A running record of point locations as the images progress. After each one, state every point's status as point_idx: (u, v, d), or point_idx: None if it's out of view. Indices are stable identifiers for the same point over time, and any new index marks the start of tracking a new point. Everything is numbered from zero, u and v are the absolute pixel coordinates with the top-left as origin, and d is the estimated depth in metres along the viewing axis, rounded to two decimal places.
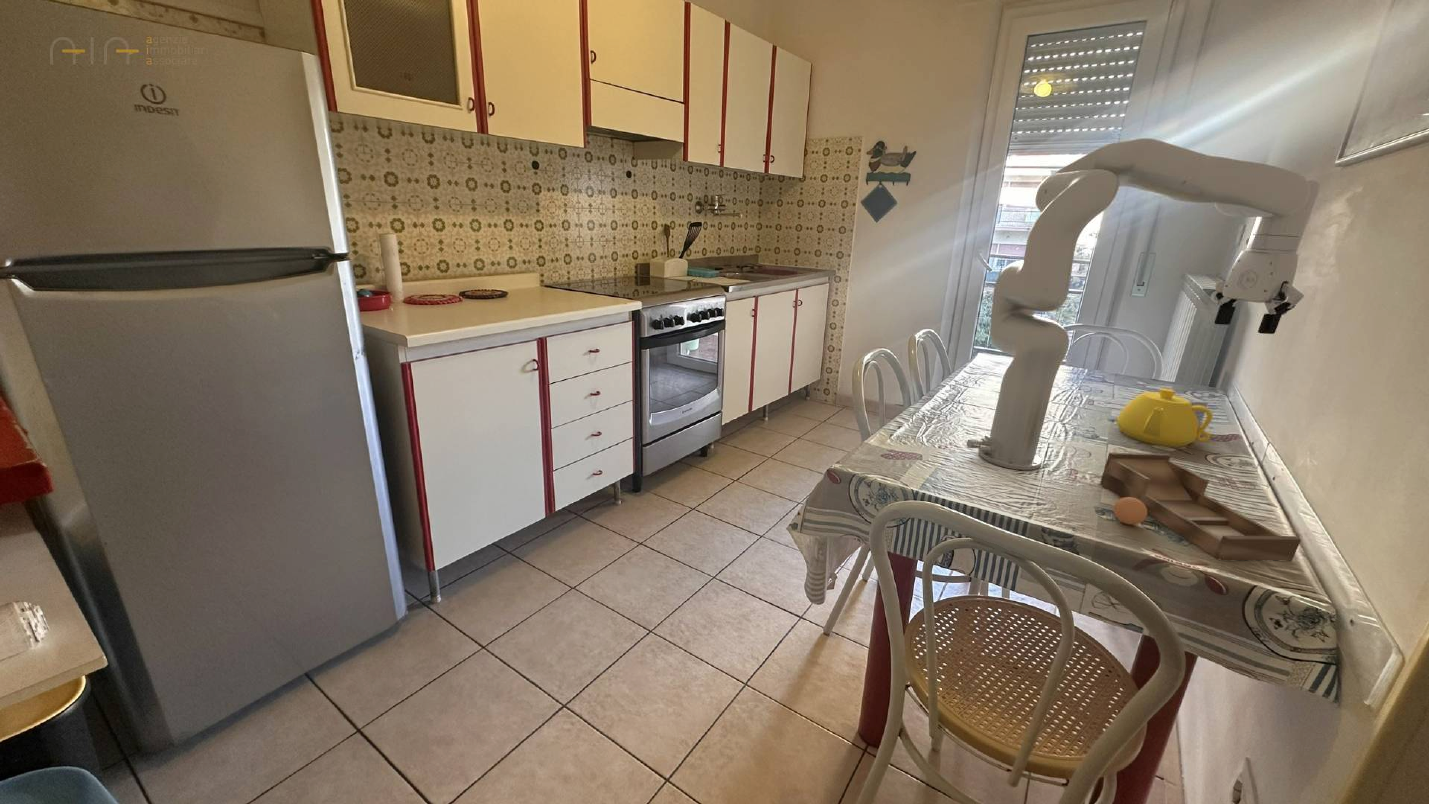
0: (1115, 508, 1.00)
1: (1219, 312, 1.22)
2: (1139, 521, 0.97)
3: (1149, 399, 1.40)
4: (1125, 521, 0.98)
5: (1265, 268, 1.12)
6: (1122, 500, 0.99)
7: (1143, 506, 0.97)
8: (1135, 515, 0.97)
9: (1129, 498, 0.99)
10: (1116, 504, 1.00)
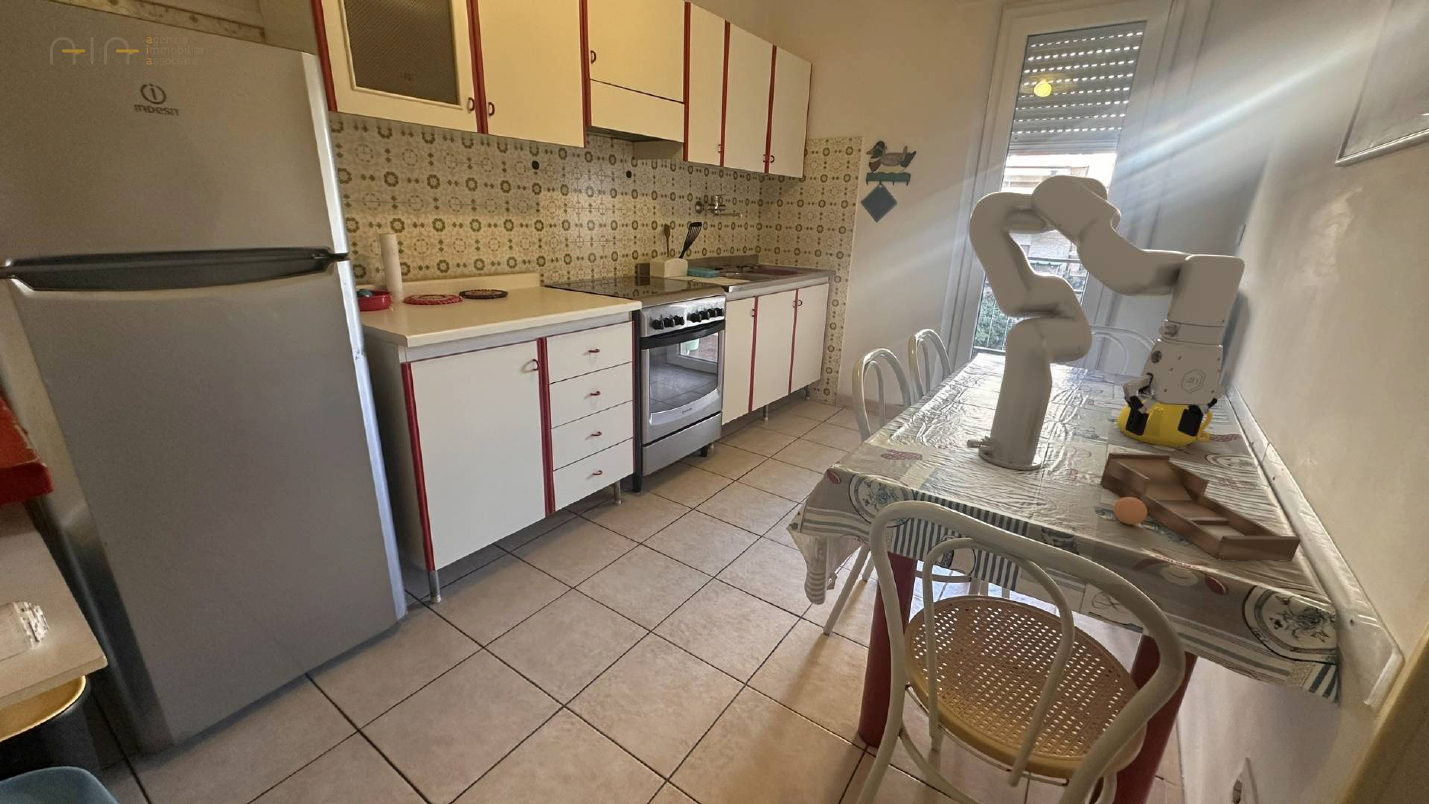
0: (1115, 508, 1.00)
1: (1145, 421, 0.93)
2: (1139, 521, 0.97)
3: None
4: (1125, 521, 0.98)
5: (1212, 365, 0.89)
6: (1122, 500, 0.99)
7: (1143, 506, 0.97)
8: (1135, 515, 0.97)
9: (1129, 498, 0.99)
10: (1116, 504, 1.00)
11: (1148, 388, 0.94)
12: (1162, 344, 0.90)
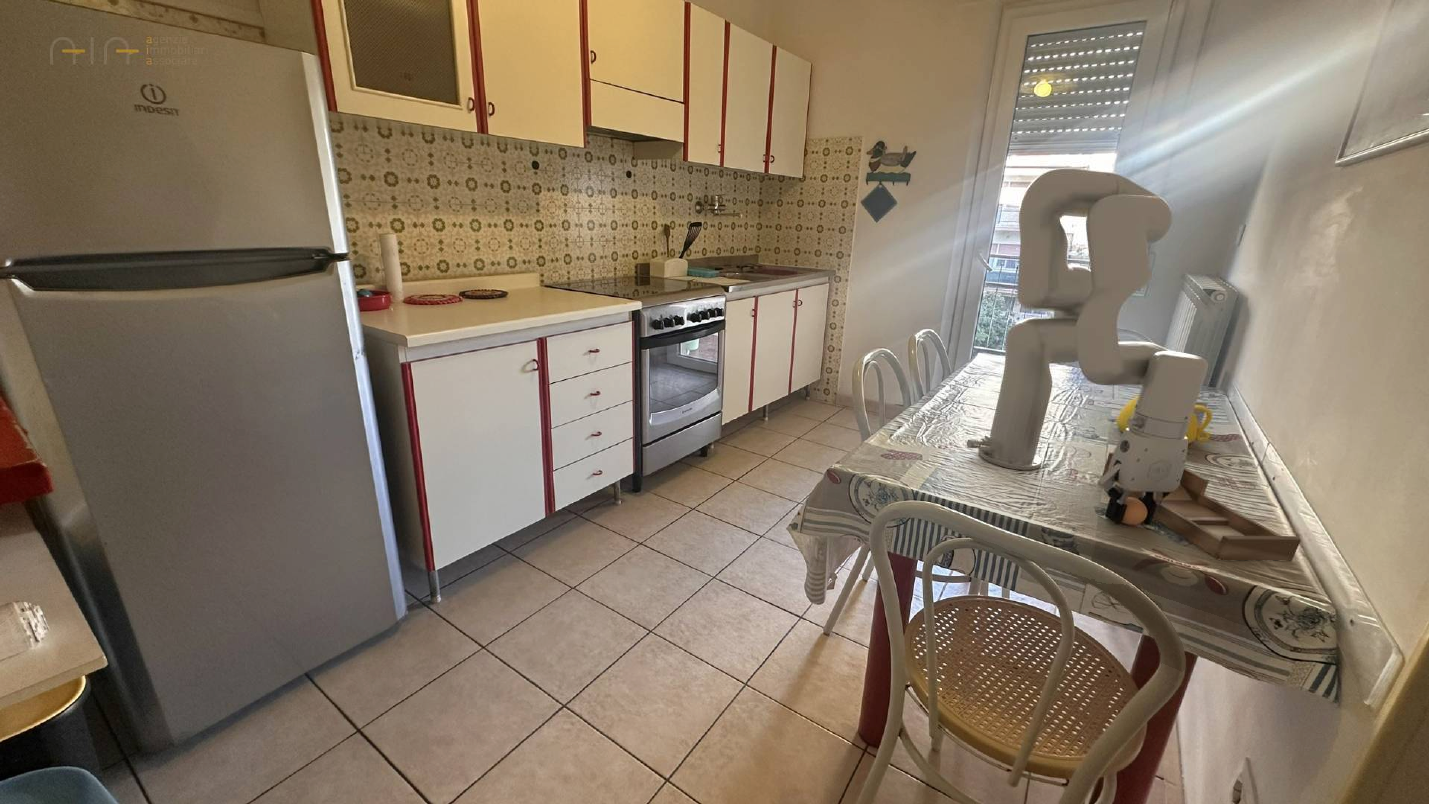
0: None
1: (1123, 512, 0.97)
2: (1139, 521, 0.97)
3: None
4: (1125, 521, 0.98)
5: (1177, 456, 0.93)
6: None
7: (1143, 506, 0.97)
8: (1135, 515, 0.97)
9: (1129, 498, 0.99)
10: None
11: None
12: (1130, 435, 0.94)
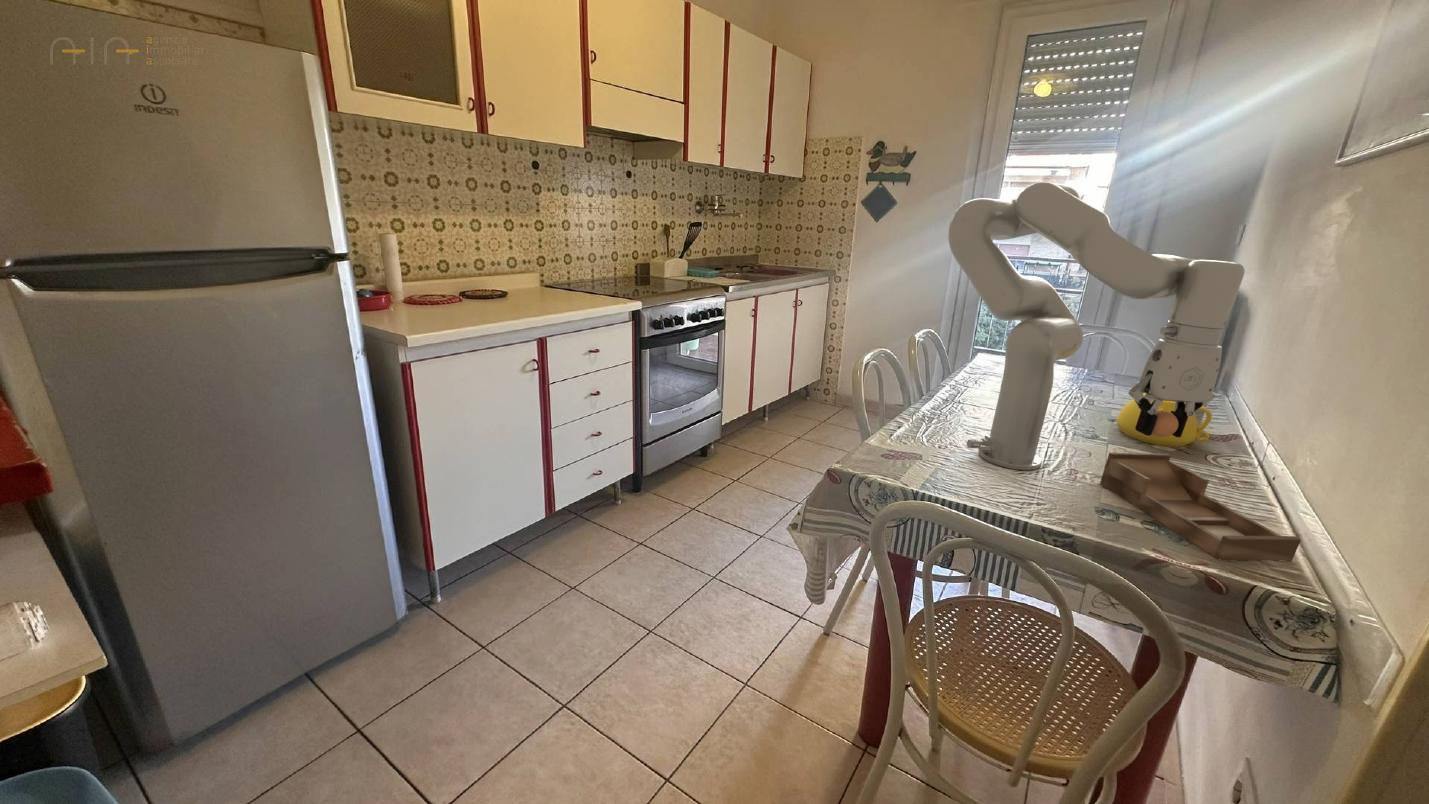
0: None
1: (1154, 422, 0.99)
2: (1170, 432, 0.99)
3: None
4: (1155, 433, 1.00)
5: (1210, 365, 0.94)
6: None
7: (1174, 418, 0.99)
8: (1165, 426, 0.98)
9: (1160, 411, 1.00)
10: None
11: None
12: (1163, 343, 0.96)
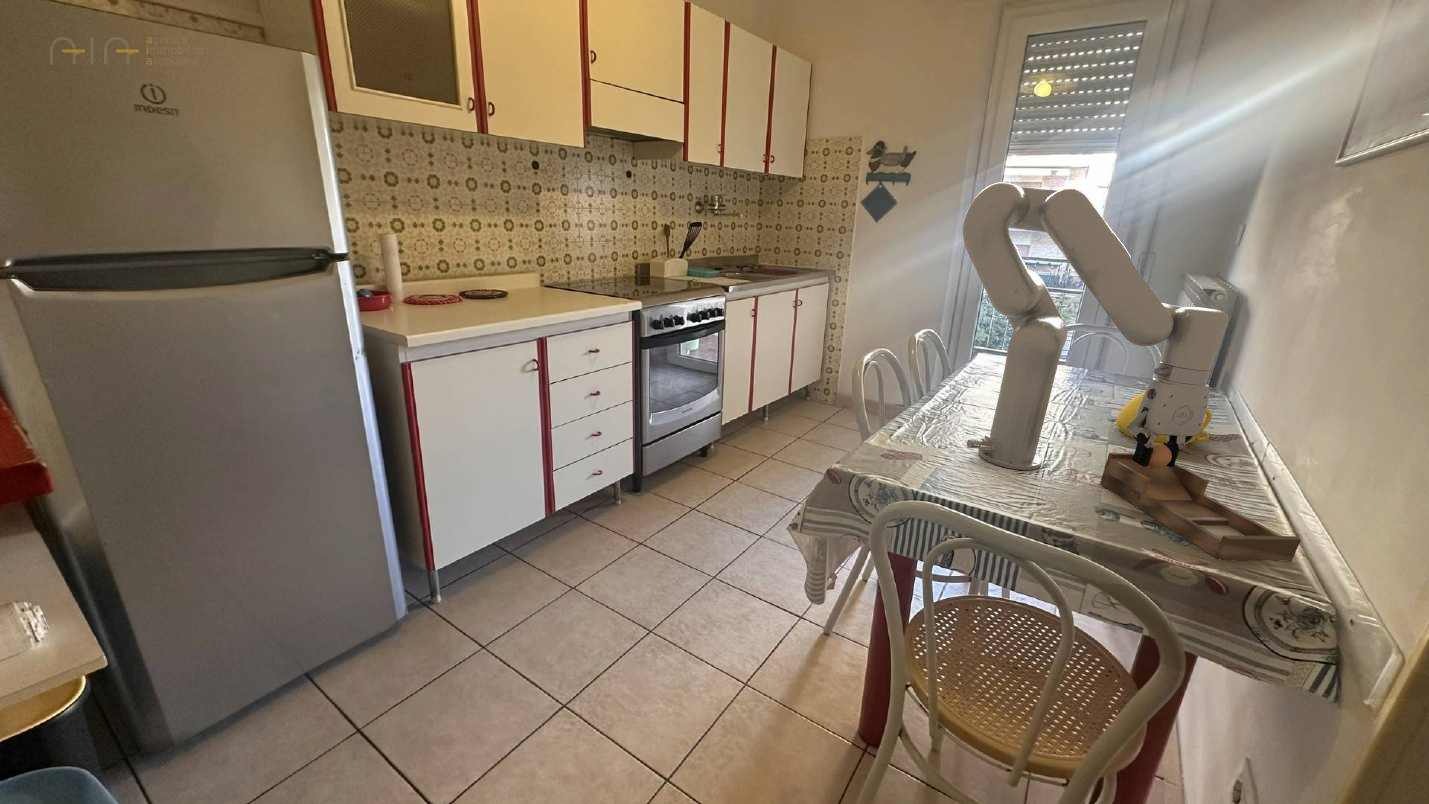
0: None
1: (1150, 455, 1.07)
2: (1164, 463, 1.07)
3: None
4: (1151, 464, 1.08)
5: (1200, 402, 1.03)
6: None
7: (1168, 450, 1.07)
8: (1161, 458, 1.07)
9: (1155, 443, 1.09)
10: None
11: None
12: (1157, 383, 1.04)
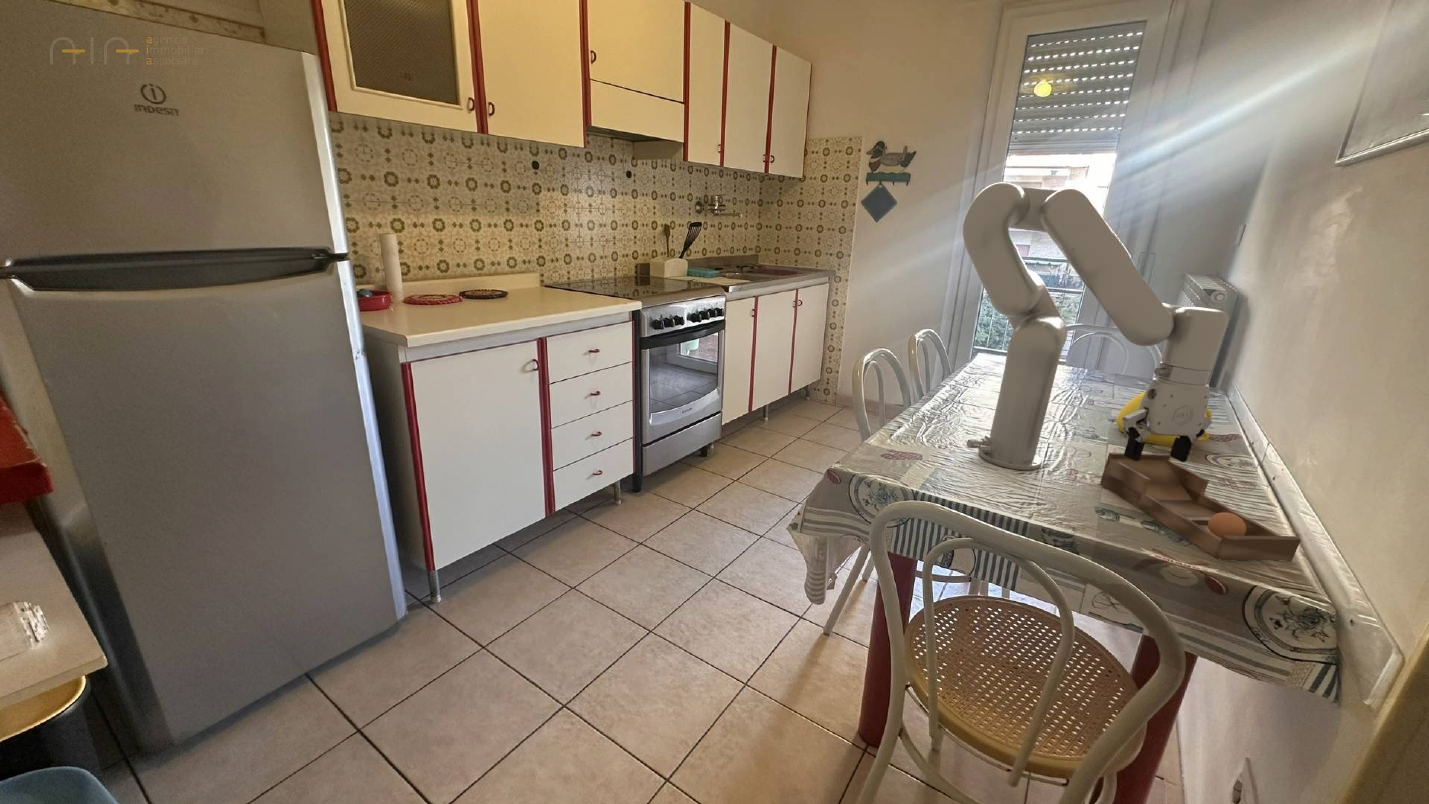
0: (1217, 525, 0.94)
1: (1141, 449, 1.07)
2: None
3: None
4: (1208, 523, 0.97)
5: (1200, 402, 1.03)
6: (1227, 533, 0.93)
7: None
8: None
9: None
10: (1222, 527, 0.94)
11: (1144, 420, 1.08)
12: (1157, 383, 1.04)
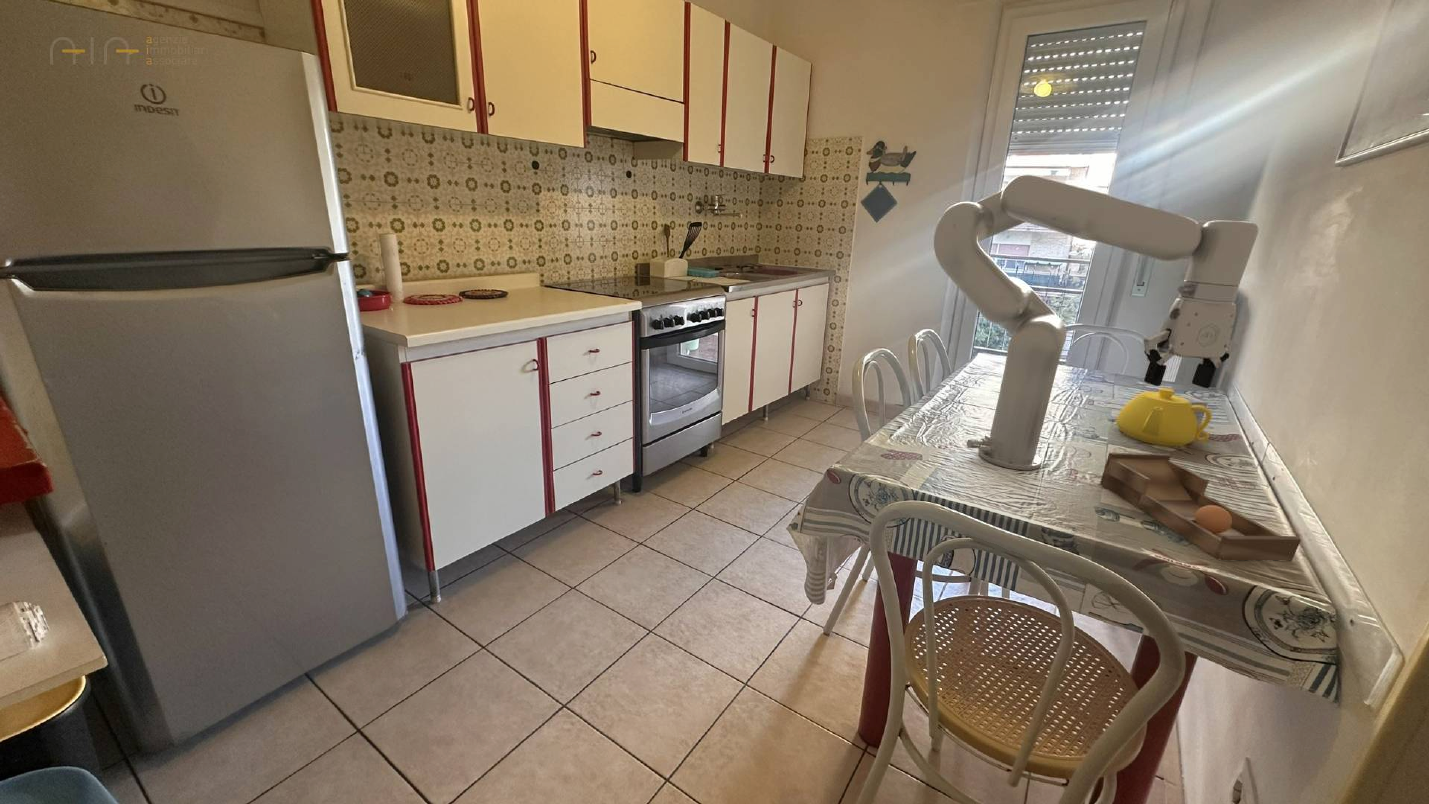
0: (1201, 514, 0.97)
1: (1163, 373, 1.03)
2: None
3: (1148, 399, 1.40)
4: None
5: (1226, 321, 0.99)
6: (1213, 515, 0.96)
7: (1228, 527, 0.95)
8: (1212, 532, 0.96)
9: (1221, 516, 0.95)
10: (1205, 513, 0.97)
11: (1166, 343, 1.04)
12: (1180, 302, 1.00)
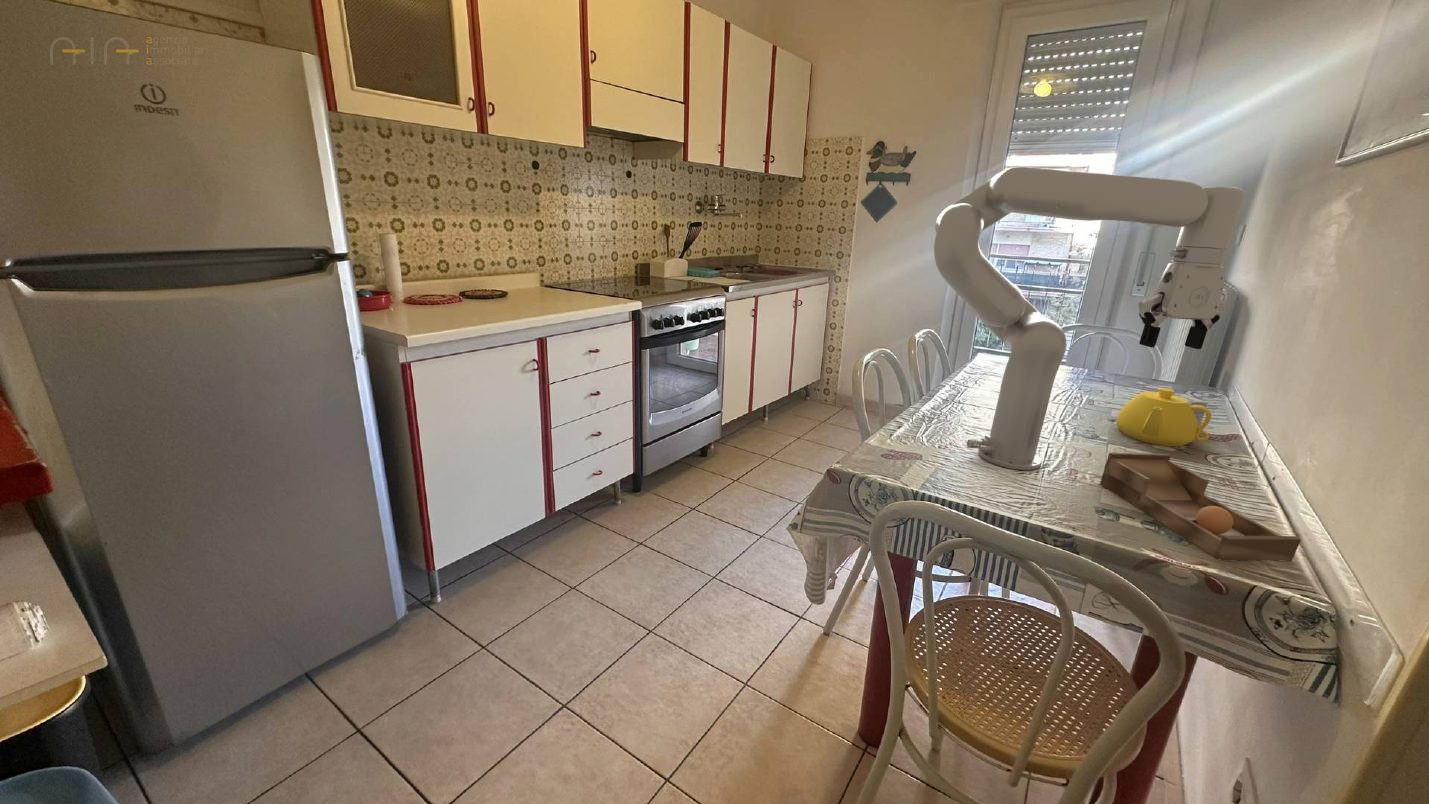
0: (1202, 515, 0.97)
1: (1157, 334, 1.07)
2: None
3: (1148, 399, 1.40)
4: None
5: (1216, 284, 1.04)
6: (1215, 516, 0.95)
7: (1229, 529, 0.95)
8: (1212, 532, 0.96)
9: (1223, 518, 0.95)
10: (1206, 514, 0.96)
11: (1160, 306, 1.08)
12: (1173, 266, 1.05)
